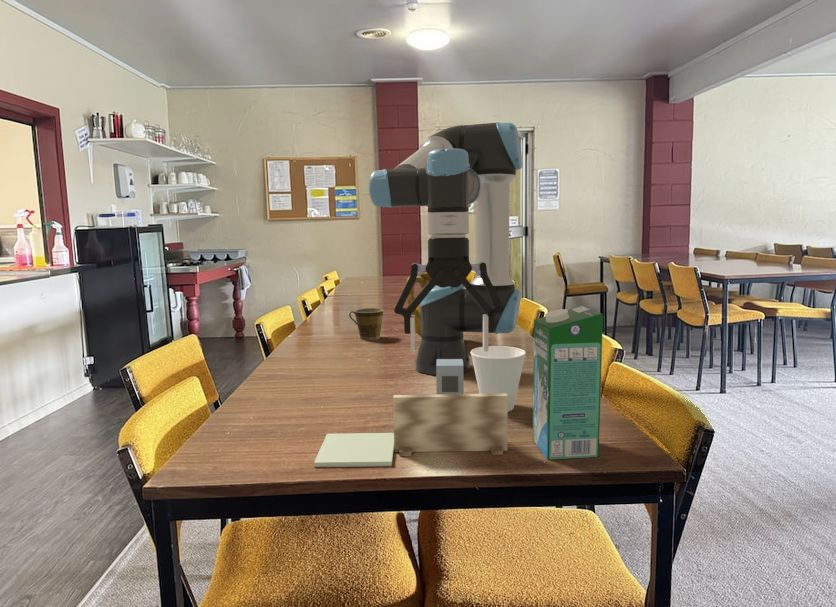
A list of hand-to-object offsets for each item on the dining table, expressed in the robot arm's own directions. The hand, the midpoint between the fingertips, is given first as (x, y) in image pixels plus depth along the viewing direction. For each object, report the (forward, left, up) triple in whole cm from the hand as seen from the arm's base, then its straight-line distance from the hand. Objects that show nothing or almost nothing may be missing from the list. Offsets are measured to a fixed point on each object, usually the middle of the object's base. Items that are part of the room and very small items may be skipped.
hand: (449, 350), depth 107 cm
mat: (-3, -18, -16) cm, 25 cm away
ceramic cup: (-91, +29, -17) cm, 97 cm away
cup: (-7, +18, -17) cm, 25 cm away
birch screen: (+6, -4, -16) cm, 18 cm away
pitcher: (-69, +44, -17) cm, 83 cm away
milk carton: (+17, +13, -17) cm, 27 cm away
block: (0, 0, -16) cm, 16 cm away
